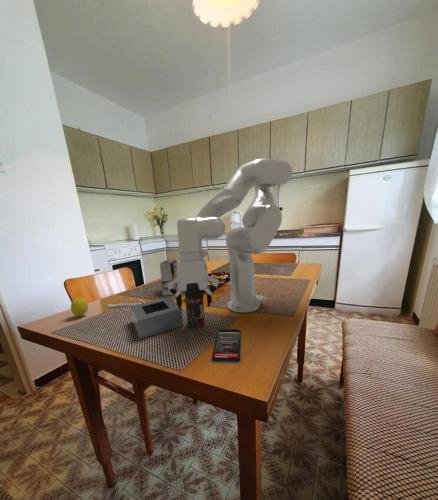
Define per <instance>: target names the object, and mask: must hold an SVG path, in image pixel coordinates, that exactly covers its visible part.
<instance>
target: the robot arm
mask: <svg viewBox="0 0 438 500" xmlns="http://www.w3.org/2000/svg"><path fill="white" fill-rule="evenodd" d="M292 177H293V168H292V165H291V164H290V163H289V162H288V161H286V160H282V159H273V158H257V159H254V160H252V161H249V162H246V163H244V164H242V165H241V166H239V167H238V168H237V169H236V170H235V172H234V173H233V175H232V176H231V177H230V179H229V180H228V182H227V183H226V184H225V186H224V187H223V188H222V189H221V190H220V191H219V192H218V193H217V194H216V195H215V196H213V198H211V199H210V200H209V201H208V202H207V203H206V204H204V205H203V207H202V208H201V209H200V210H199V211H198V213H197V214H196V215H195V217H187V218H186V217H185V218H180V219H177V223H176V229H177V240H178V241H177V242H178V251H179V252H178V254H179V260H178V261H177V278H176V279H174V280H172V281H170V282H169V283H168V284H167V287H168V288H169V290H170V292H171V293H172V294H174V295H173V296H174V298H175V300H176V302H175V303H176V304H177V305H178V307H179V309H180V308H181V309H182V306H183V300H182V299H183V298H182V294H181V293H182V292H185V291H186V287H187V284H194V283H198V286H199V289H200V290H203V291H205V293H206V300H207V301H206V304H207V307H208V308H210V306H211V304H212V303H213V301H212V300H213V299H212V294H213V293H214V292H215V291H216V290H217V288H218V286H219V283H220V280H219V279H217V278H214V277H212V276H210V275H208V265H207V262H206V261H207V260H206V259H205V258H204V257H207V256H208V253H207V252H206V251H203V244H202V243H203V242H202V240H216V239H219V238H221V237H222V236H223V235H224V234H225V231H226V223H225V222H224V221H223V219H222V218H221V217H222V216H224V215H225V214H228V213H229V212H232V211H233V210H235V209H237V208H239V206H240V205H241V204H242V202H243V201H244V200H245V198H247V196H248V194H249V192H250V191H251V190H252V188H253V187H254V191H255V193H254V197H253V199H252V201H251V202H250V204H249V205H248V207H247V208H246V210H245V212H244V213H243V216H242V218H241V223H242V226H241V227H234V228H232V229H230V230H229V231H228V232H227V234H226V237H225V245H226V249H227V253H228V260H229V279H230V298H231V299H230V301H228V303H227V308H228V309H229V310H231V311H233V312H235V313H243V314H244V313H252V312H255V311H257V310H258V309H259V308H260V303H262V302H263V303H266V302H268V297H267V296H263V295H257V294H256V284H255V263H254V257H253V255H261V254H263V253H264V252H266V251H267V250H268V248H269V246H270V245H271V244H272V241H273V239H274V238H275V236H276V234H277V233H278V231H279V229H280V227H281V225H282V220H283V214H282V211H281V208H280V207H279V206H278V205H276V204H275V196H274V195H273V192H272V190H271V188H273V187H277V186H282V185H285V184H287V183H288V182H290V180H291V179H292ZM209 282H211V283H212V284H213V285H212V286H211V287H210V286H209ZM175 283H177V288H178V290H176V289H175V288H173V286H172V285H173V284H175Z"/></svg>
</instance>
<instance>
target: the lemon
mask: <svg viewBox="0 0 438 500" xmlns="http://www.w3.org/2000/svg"><path fill="white" fill-rule="evenodd" d="M70 309H71V313H72V314H73V315H74V316H78V317H81V318H82V317H83V315H85V314H86V313H87V312H88V309H89V304H88V301H87V300H86V299H85V298H84V297H80V296H77V297H76V298H75V299H74V300H72V301H71V305H70Z"/></svg>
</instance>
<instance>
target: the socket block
mask: <svg viewBox="0 0 438 500" xmlns="http://www.w3.org/2000/svg"><path fill="white" fill-rule="evenodd" d="M144 302H145V301H144ZM130 309H131V311H130V312H131V319H132V323H133V326H134V328H135V331H136V334H137V337H138V338H139V340H143V339H146V338H148V337H152V336H154V335H158V334H161V333H164V332H167V331H169V330H173V329H176V328H179V327H182V326H184V323H183V322H184V321H183V320H184V319H183V311H182V310H183V309H182V307H181V308H180V309H179V307H178V305H177V303H176V302H175V301H174V300H173V299H172V298H170V296H167V297H163V298H158V299H154V300H151V301H146V302H145V303H143V302H141V304H137V305H133V306H130Z"/></svg>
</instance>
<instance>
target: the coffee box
mask: <svg viewBox="0 0 438 500" xmlns="http://www.w3.org/2000/svg"><path fill="white" fill-rule="evenodd" d="M177 265H178V262H177V259H170V260H169V259H168V260H163V261H162V262H160V263H159V267H160V268H159V269H160V280H161V281H160V282H161V292H162V296H175V295H174V294H172V293H171V292H170V290H169V288H168V287H167V284H168V283H169V282H170V281H172V280H174V279H176V278H177ZM172 286H173V288H175V289H176V290H178V288H177V283H175V284H173V285H172Z"/></svg>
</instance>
